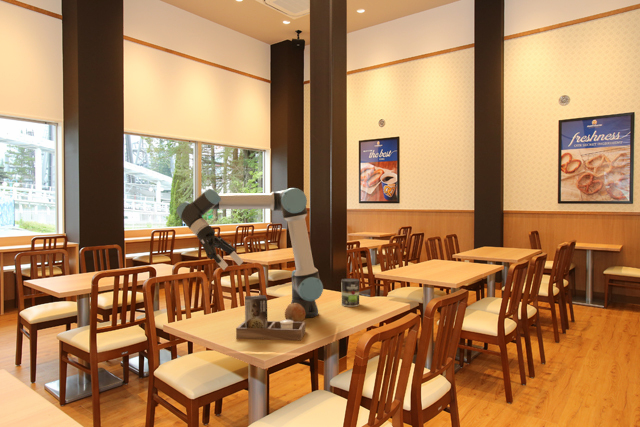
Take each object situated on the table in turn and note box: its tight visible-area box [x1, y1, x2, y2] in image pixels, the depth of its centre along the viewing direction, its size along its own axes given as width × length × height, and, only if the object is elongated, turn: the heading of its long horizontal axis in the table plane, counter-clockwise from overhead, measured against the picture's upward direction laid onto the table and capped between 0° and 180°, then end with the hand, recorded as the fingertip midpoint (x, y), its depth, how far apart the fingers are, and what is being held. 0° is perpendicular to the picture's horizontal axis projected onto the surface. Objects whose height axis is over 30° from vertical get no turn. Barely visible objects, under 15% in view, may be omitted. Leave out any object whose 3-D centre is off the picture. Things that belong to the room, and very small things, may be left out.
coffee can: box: [340, 278, 360, 308], centre depth 231 cm, size 10×10×14 cm
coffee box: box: [244, 294, 269, 328], centre depth 174 cm, size 9×6×16 cm
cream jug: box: [280, 319, 293, 329], centre depth 173 cm, size 6×6×6 cm
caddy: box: [235, 320, 306, 342], centre depth 173 cm, size 12×27×5 cm, turn 83°
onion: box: [284, 303, 306, 322], centre depth 193 cm, size 10×10×10 cm
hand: (233, 265), depth 178 cm, fingers open, 13 cm apart
